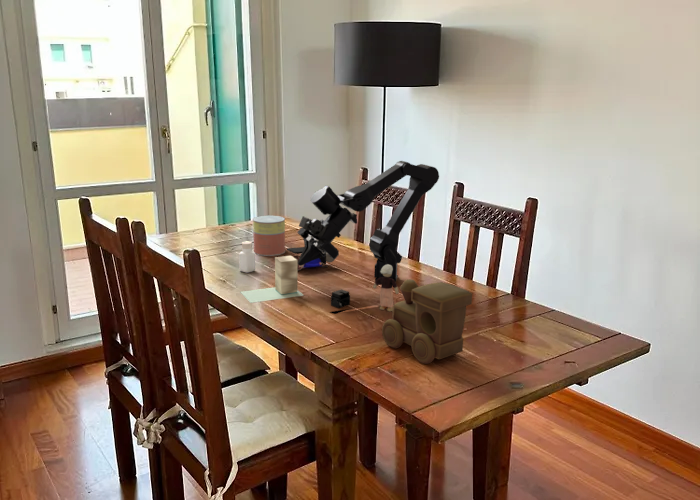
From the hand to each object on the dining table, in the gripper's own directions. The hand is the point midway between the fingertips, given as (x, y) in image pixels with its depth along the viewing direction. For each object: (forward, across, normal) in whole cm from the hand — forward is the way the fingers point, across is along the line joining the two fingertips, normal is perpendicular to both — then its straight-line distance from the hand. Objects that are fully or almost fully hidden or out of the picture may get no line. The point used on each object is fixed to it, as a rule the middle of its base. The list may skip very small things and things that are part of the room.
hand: (298, 264), depth 191 cm
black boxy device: (+2, +16, +10) cm, 20 cm away
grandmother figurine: (-6, +23, +18) cm, 29 cm away
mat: (+12, 0, 0) cm, 12 cm away
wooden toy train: (-2, +51, +14) cm, 53 cm away
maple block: (+8, 0, +3) cm, 9 cm away
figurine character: (-3, -20, +15) cm, 25 cm away
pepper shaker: (+12, -25, +1) cm, 28 cm away
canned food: (+1, -44, +11) cm, 46 cm away
